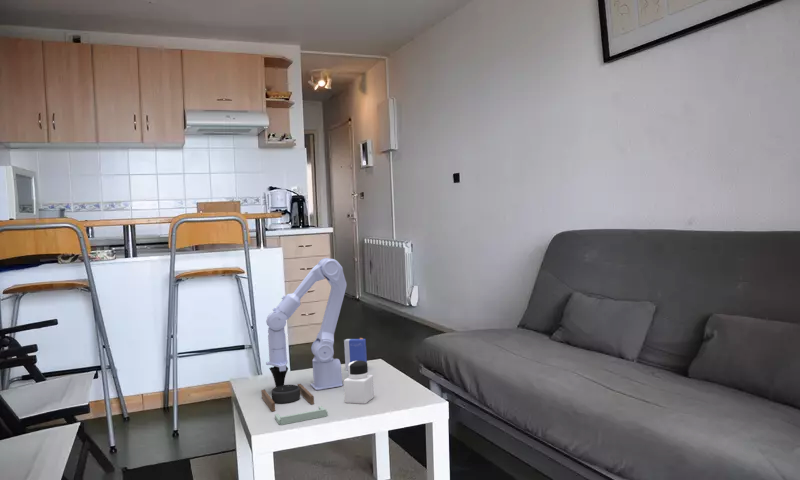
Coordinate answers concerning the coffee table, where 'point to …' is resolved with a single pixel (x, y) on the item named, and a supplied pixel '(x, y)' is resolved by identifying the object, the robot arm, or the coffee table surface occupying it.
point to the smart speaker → (285, 393)
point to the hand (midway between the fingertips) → (279, 388)
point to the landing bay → (301, 416)
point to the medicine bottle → (358, 383)
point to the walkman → (355, 350)
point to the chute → (303, 392)
